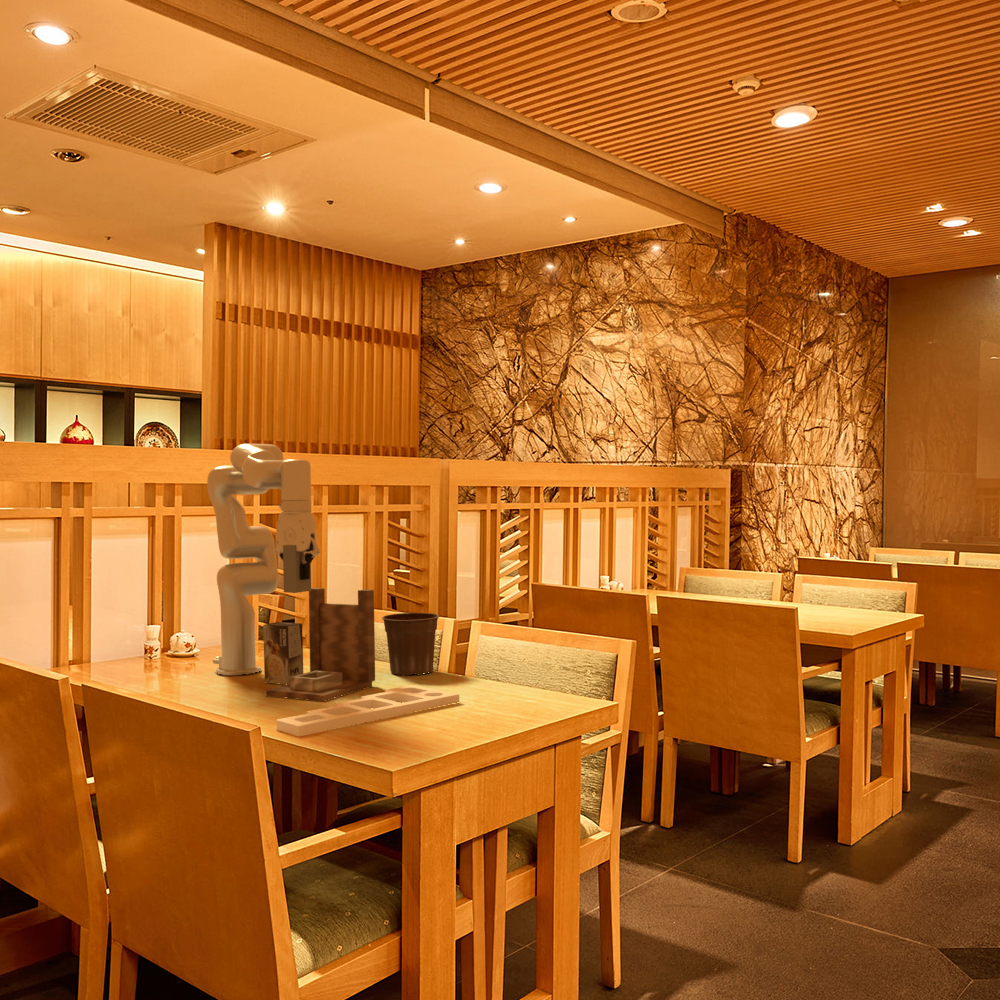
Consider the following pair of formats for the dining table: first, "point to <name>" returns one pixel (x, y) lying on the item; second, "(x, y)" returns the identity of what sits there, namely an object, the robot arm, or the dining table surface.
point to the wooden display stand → (336, 649)
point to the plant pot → (411, 642)
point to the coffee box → (282, 651)
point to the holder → (366, 709)
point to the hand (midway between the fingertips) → (297, 578)
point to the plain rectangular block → (293, 571)
